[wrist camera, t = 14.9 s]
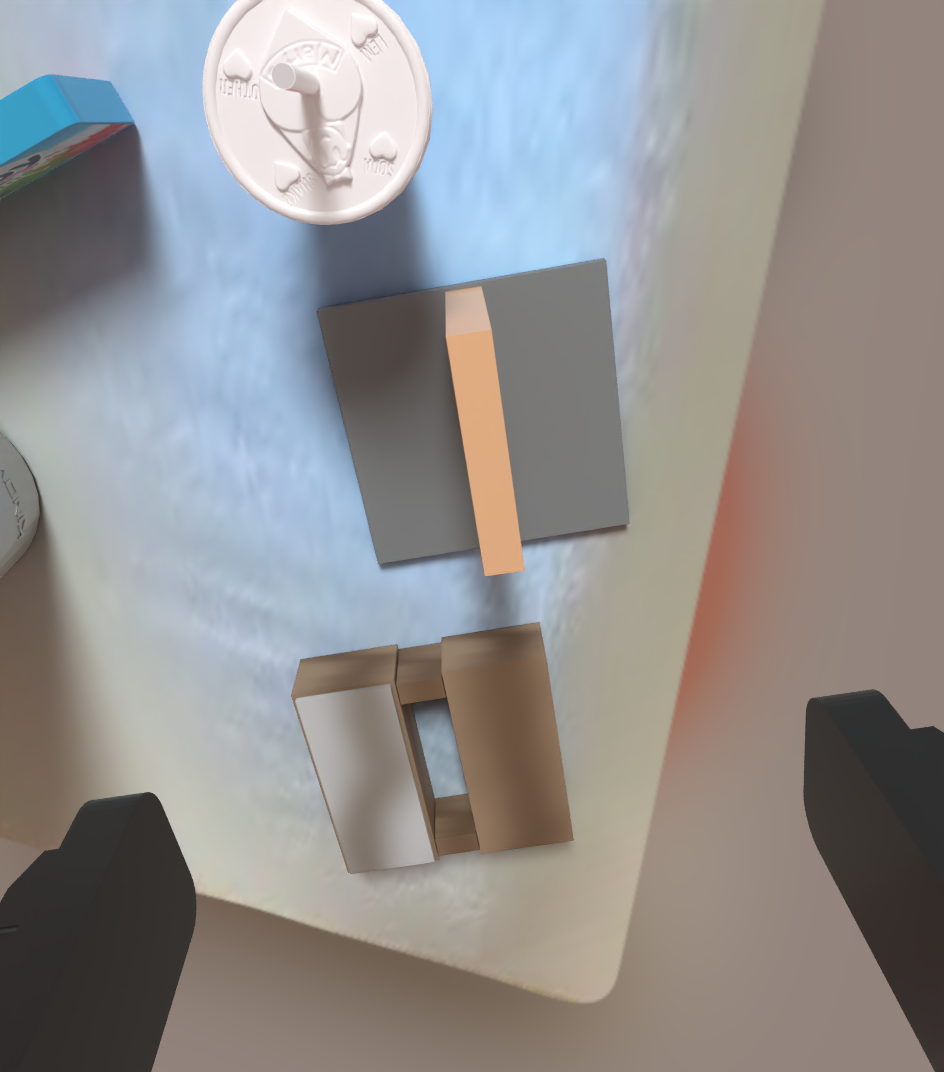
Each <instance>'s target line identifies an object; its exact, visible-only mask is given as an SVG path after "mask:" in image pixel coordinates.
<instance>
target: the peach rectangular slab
mask: <svg viewBox="0 0 944 1072" xmlns="http://www.w3.org/2000/svg"><path fill="white" fill-rule="evenodd" d="M445 307H446V341H447V347H448V353H449V359H450V365H451V372H452V378H453V384H454V390H455V396H456V402H457V408H458V415H459V421H460V427H461V433H462V439H463V445H464V451H465V458H466V464H467V470H468V476H469V482H470V488H471V495H472V501H473V507H474V513H475V519H476V525H477V531H478V538H479V544H480V550H481V556H482V562H483V568H484V574H485V576H491V575H498V574H505V573H512V572H519V571H525V568H524V561H523V554H522V547H521V539H520V532H519V525H518V518H517V510H516V503H515V496H514V489H513V481H512V474H511V467H510V460H509V452H508V445H507V438H506V431H505V423H504V416H503V409H502V402H501V394H500V387H499V380H498V373H497V365H496V358H495V351H494V344H493V336H492V329H491V325H490V321H489V316H488V312H487V308H486V303H485V299H484V295H483V290H482V286H480V287H474V288H468V289H461V290H455V291H449V292H445Z"/></svg>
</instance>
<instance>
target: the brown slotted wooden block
mask: <svg viewBox="0 0 944 1072" xmlns="http://www.w3.org/2000/svg"><path fill="white" fill-rule="evenodd" d="M446 695H447V700H448V704H449V709H450V713H451V718H452V722H453V727H454V731H455V736H456V741H457V745H458V750H459V754H460V759H461V763H462V768H463V772H464V777H465V782H466V786H467V791H468V794H463V795H456V796H450V797H443V798H436V799H435V798H434V794H433V790H432V786H431V782H430V778H429V774H428V770H427V765H426V761H425V757H424V753H423V749H422V745H421V741H420V737H419V733H418V729H417V724H416V720H415V716H414V712H413V708H412V704H411V703H415V702H421V701H428V700H434V699H441V698H446ZM291 697H292V700H293V703H294V706H295V709H296V712H297V715H298V718H299V721H300V725H301V728H302V731H303V734H304V737H305V740H306V743H307V746H308V749H309V753H310V756H311V759H312V762H313V765H314V768H315V771H316V774H317V777H318V781H319V784H320V787H321V790H322V793H323V796H324V799H325V802H326V805H327V809H328V812H329V815H330V818H331V821H332V824H333V827H334V830H335V833H336V837H337V840H338V843H339V846H340V849H341V852H342V855H343V858H344V861H345V865H346V868H347V871H348V873H350V874H355V873H362V872H369V871H376V870H383V869H390V868H397V867H403V866H410V865H417V864H424V863H431V862H435V860H439V856H440V855H447V854H454V853H461V852H467V851H474V850H481V854H482V853H489V852H496V851H503V850H510V849H517V848H524V847H531V846H538V845H545V844H552V843H559V842H566V841H573V840H574V839H573V833H572V826H571V819H570V813H569V806H568V799H567V793H566V786H565V780H564V773H563V766H562V760H561V753H560V746H559V740H558V733H557V726H556V720H555V713H554V707H553V700H552V693H551V687H550V680H549V673H548V667H547V660H546V654H545V649H544V644H543V638H542V633H541V628H540V623H539V622H538V623H531V624H525V625H519V626H512V627H506V628H499V629H493V630H487V631H480V632H474V633H467V634H461V635H455V636H448V637H442V643H436V644H429V645H423V646H416V647H410V648H404V649H399V651H398V647H397V645H390V646H384V647H378V648H371V649H365V650H358V651H352V652H346V653H339V654H333V655H326V656H320V657H313V658H307V659H301V660H300V664H299V668H298V672H297V675H296V679H295V683H294V687H293V690H292V694H291ZM479 845H480V849H479Z"/></svg>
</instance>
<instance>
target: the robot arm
mask: <svg viewBox="0 0 944 1072" xmlns="http://www.w3.org/2000/svg"><path fill="white" fill-rule="evenodd" d="M39 515H40V512H39V500H38V493H37V490H36V486H35V483H34V480H33V477H32V474H31V472H30V471H29V469H28V467H27V465H26V463H25V462H24V460H23V458H22V456H21V455H20V454H19V452H18V451H17V450H16V449H15V447H14V446H13V445H12V444H11V443H10V441H9V440H8V439H7V438H6V437H5V436H4V435H3V434H2V433H1V432H0V579H1V578H2V576H3V575H4V574H5V573H6V572H7V571H8V570H9V569H10V568H11V567H12V566H13V565H14V564H15V563H16V562H17V561H18V560H19V559H20V558H21V556H22V555H23V554H24V553H25V552H26V551H27V549H28V548H29V547H30V545H31V542H32V540H33V538H34V536H35V534H36V532H37V526H38V520H39ZM804 805H805V811H806V816H807V820H808V824H809V827H810V830H811V834H812V837H813V839H814V842H815V844H816V846H817V848H818V850H819V852H820V854H821V856H822V858H823V860H824V862H825V864H826V865H827V867H828V869H829V871H830V873H831V875H832V877H833V879H834V881H835V883H836V885H837V886H838V888H839V890H840V892H841V894H842V896H843V898H844V900H845V902H846V904H847V905H848V907H849V909H850V911H851V913H852V915H853V917H854V919H855V921H856V922H857V924H858V926H859V928H860V930H861V932H862V934H863V936H864V938H865V940H866V942H867V944H868V945H869V947H870V949H871V951H872V953H873V955H874V957H875V959H876V961H877V963H878V964H879V966H880V968H881V970H882V972H883V974H884V976H885V978H886V979H887V981H888V983H889V985H890V987H891V989H892V991H893V993H894V995H895V997H896V999H897V1001H898V1002H899V1004H900V1006H901V1008H902V1010H903V1012H904V1014H905V1016H906V1018H907V1019H908V1021H909V1023H910V1025H911V1027H912V1029H913V1031H914V1033H915V1035H916V1037H917V1039H918V1040H919V1042H920V1044H921V1046H922V1048H923V1050H924V1052H925V1054H926V1055H927V1057H928V1059H929V1061H930V1063H931V1065H932V1067H933V1069H934V1071H935V1072H944V733H943V732H942V731H940V730H939V729H937V728H935V727H934V726H931V727H924V728H917V729H910V728H909V727H908V726H907V724H906V723H905V722H904V721H903V719H902V718H901V717H900V715H899V714H898V713H897V711H896V710H895V709H894V708H893V707H892V705H891V704H890V703H889V701H888V700H887V699H886V698H885V696H884V695H883V694H882V693H880V692H879V691H877V690H873V689H872V690H865V691H858V692H851V693H844V694H837V695H830V696H824V697H817V698H812V699H810V700H809V702H808V704H807V708H806V727H805V760H804ZM195 919H196V893H195V887H194V882H193V879H192V876H191V874H190V871H189V869H188V866H187V864H186V862H185V859H184V857H183V854H182V852H181V850H180V847H179V845H178V842H177V840H176V838H175V835H174V833H173V830H172V828H171V826H170V823H169V821H168V819H167V816H166V814H165V811H164V809H163V807H162V804H161V802H160V800H159V799H158V798H157V796H156V795H154V794H153V793H151V792H146V793H139V794H132V795H125V796H118V797H111V798H104V799H97V800H91V801H88V802H86V803H85V804H84V805H83V806H82V807H81V808H80V810H79V812H78V813H77V815H76V817H75V819H74V821H73V823H72V825H71V827H70V829H69V830H68V832H67V834H66V836H65V838H64V840H63V842H62V844H61V846H60V848H59V849H55V850H48V851H44V852H43V853H42V854H41V855H40V856H39V857H38V858H37V859H36V861H34V862H33V864H31V865H30V867H29V868H28V869H27V870H26V871H25V872H24V873H23V874H22V875H21V876H20V877H19V878H18V879H17V880H16V881H15V882H14V883H13V884H12V885H11V886H10V887H9V888H8V890H7V891H6V893H5V895H4V897H3V898H2V900H1V902H0V1072H151V1070H152V1067H153V1064H154V1061H155V1057H156V1054H157V1051H158V1047H159V1044H160V1041H161V1037H162V1034H163V1031H164V1028H165V1024H166V1021H167V1018H168V1014H169V1011H170V1008H171V1004H172V1001H173V998H174V995H175V991H176V987H177V985H178V981H179V978H180V974H181V971H182V968H183V965H184V961H185V958H186V955H187V952H188V948H189V945H190V942H191V938H192V935H193V931H194V926H195Z"/></svg>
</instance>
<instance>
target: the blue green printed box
mask: <svg viewBox="0 0 944 1072" xmlns="http://www.w3.org/2000/svg"><path fill="white" fill-rule="evenodd" d="M132 124H134V120H133V119H132V117H131V115H130V114H129V112H128V110H127V109H126V107H125V105H124V103H123V102H122V100H121V98H120V97H119V95H118V93H117V92H116V90H115V88H114V86H113V85H112V83H111V82H110V81H104V80H95V79H86V78H77V77H69V76H60V75H45V76H42V77H40V78H37V79H35V80H33V81H32V82H30V83H28V84H26V85H25V86H23V87H21V88H20V89H18V90H16V91H15V92H13V93H11V94H10V95H8V96H6V97H5V98H3V99H1V100H0V200H1V199H3V198H5V197H6V196H8V195H10V194H12V193H13V192H15V191H17V190H19V189H20V188H22V187H24V186H26V185H27V184H29V183H31V182H33V181H34V180H36V179H38V178H40V177H41V176H43V175H45V174H47V173H48V172H50V171H52V170H54V169H56V168H57V167H59V166H61V165H63V164H64V163H66V162H68V161H70V160H71V159H73V158H75V157H77V156H78V155H80V154H82V153H84V152H85V151H87V150H89V149H91V148H92V147H94V146H96V145H98V144H99V143H101V142H103V141H105V140H106V139H108V138H110V137H112V136H114V135H115V134H117V133H119V132H121V131H122V130H124V129H126V128H128V127H129V126H131V125H132Z"/></svg>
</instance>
